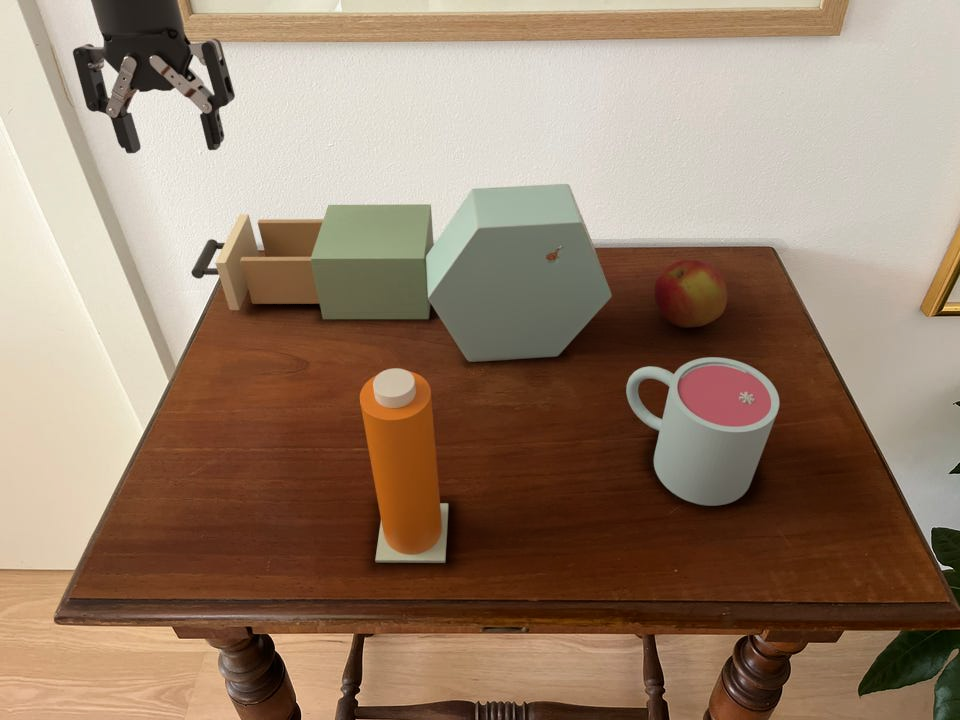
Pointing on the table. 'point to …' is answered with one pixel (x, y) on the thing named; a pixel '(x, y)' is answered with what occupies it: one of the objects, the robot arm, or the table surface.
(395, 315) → the cabinet
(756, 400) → the mug
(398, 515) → the juice bottle
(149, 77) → the robot arm
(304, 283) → the drawer
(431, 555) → the coaster
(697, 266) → the apple
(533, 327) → the pale green hexagonal block
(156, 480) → the table surface
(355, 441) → the table surface
